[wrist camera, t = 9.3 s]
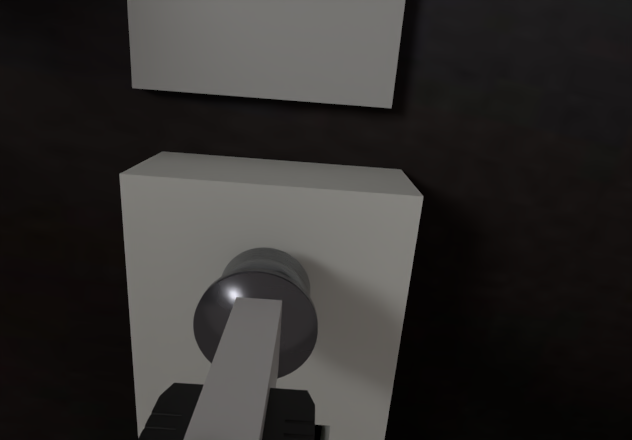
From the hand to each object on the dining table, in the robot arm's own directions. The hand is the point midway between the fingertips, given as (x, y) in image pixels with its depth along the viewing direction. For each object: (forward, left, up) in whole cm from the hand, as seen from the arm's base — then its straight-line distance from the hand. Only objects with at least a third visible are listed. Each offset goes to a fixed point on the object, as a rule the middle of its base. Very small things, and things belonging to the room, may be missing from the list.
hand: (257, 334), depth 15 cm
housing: (0, -11, -9) cm, 14 cm away
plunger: (0, 0, -3) cm, 3 cm away
